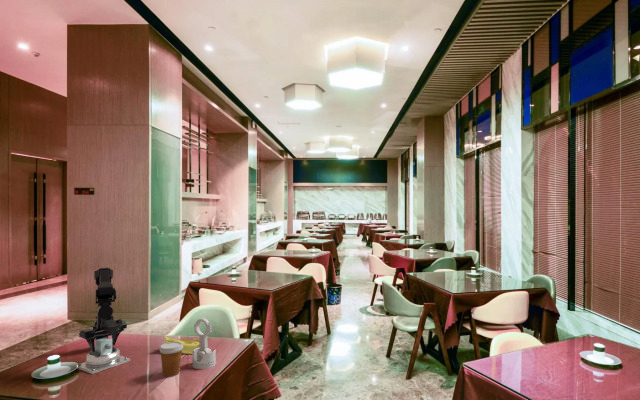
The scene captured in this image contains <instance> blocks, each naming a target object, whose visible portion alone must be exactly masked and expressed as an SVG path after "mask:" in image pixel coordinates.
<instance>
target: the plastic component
mask: <svg viewBox="0 0 640 400" xmlns="http://www.w3.org/2000/svg"><path fill="white" fill-rule="evenodd" d="M163 339H164V342H165V343H169V342H181V343H182V345H183V349H182V353H181V354H185V355H193V350H194V349H196V348H199V347H200V340H196V339H195V340H194V339H193V340H192V339H183V338H182V339H180V338H172V337H167V336H166V335H164V337H163Z"/></svg>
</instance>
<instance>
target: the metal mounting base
mask: <svg viewBox="0 0 640 400" xmlns="http://www.w3.org/2000/svg"><path fill="white" fill-rule="evenodd" d="M120 354H121V351H120V348H117V347H114V346H112V352H111V353H108V354H105V355H102V356H100V353H98V352H95V349H94V352H92V350H91V349H90V350H89V352H88V353H87V354H86V361H84V362H78V363H77V364H78V368H79V369H78V368H77V369H78V370H81V371H83V372H85V373H88V374H90V375H93V374H96V373H100V372H101V371H104V370H109V369H111V368H113V367H116V366H119V365H122V364H125V363H128V362H130V361H131V358H129V357H127V356H123V355H120Z"/></svg>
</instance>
